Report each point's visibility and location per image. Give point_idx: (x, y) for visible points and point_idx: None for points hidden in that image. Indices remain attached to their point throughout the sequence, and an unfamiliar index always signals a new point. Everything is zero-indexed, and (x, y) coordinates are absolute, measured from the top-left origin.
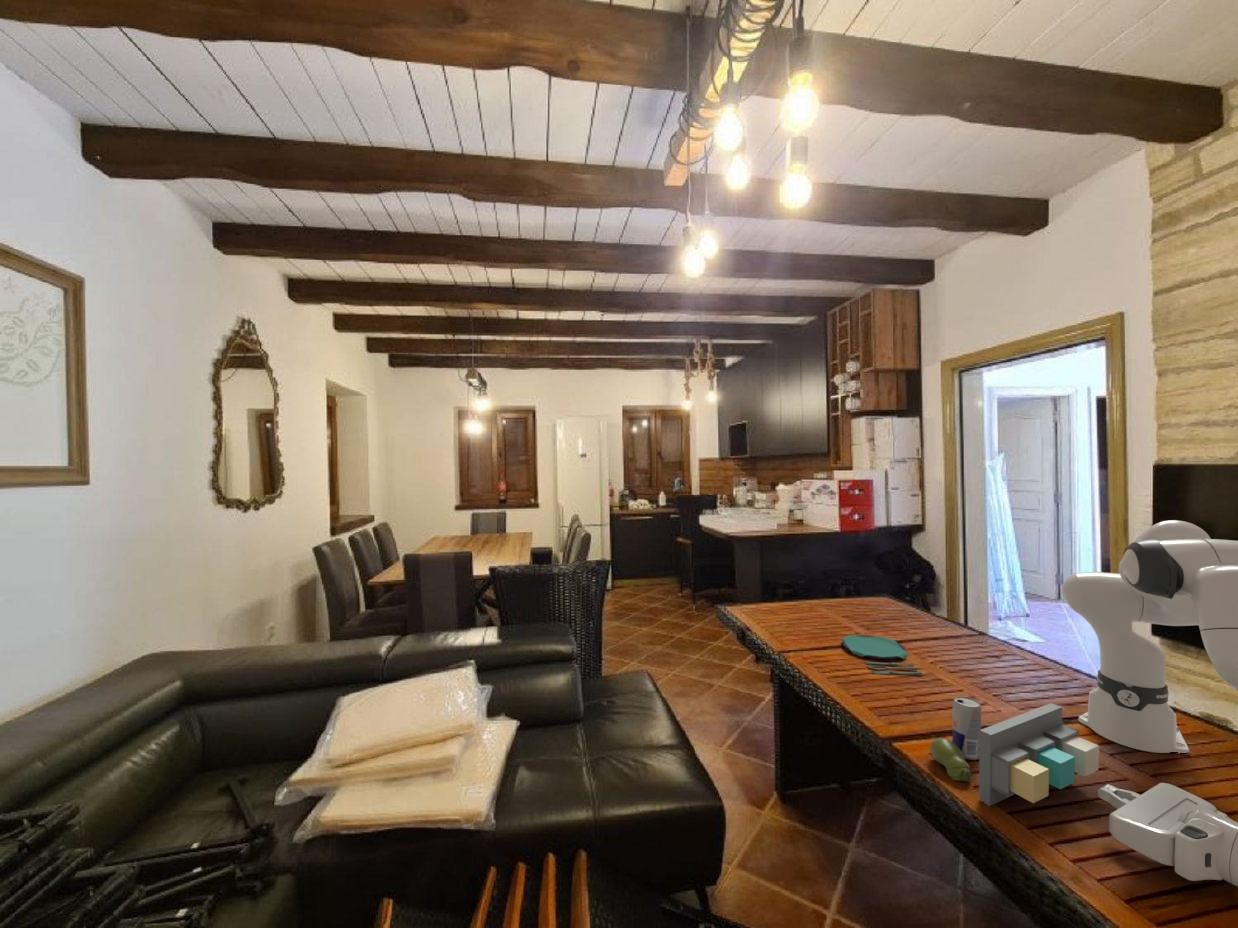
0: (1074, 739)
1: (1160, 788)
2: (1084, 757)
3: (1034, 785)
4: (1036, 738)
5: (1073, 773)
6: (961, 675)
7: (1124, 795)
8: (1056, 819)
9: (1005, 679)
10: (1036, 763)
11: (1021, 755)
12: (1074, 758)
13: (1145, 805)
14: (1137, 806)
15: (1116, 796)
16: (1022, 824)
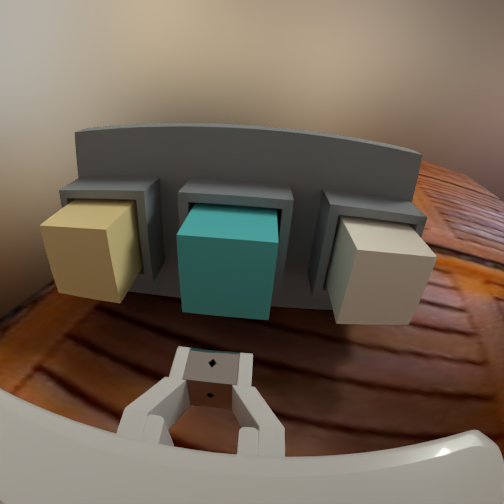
0: (391, 229)
1: (422, 465)
2: (351, 269)
3: (50, 252)
4: (258, 186)
5: (265, 295)
6: (437, 201)
7: (242, 416)
8: (148, 363)
9: (481, 219)
10: (119, 215)
11: (112, 190)
12: (275, 248)
13: (119, 488)
14: (69, 456)
15: (157, 395)
16: (74, 327)
